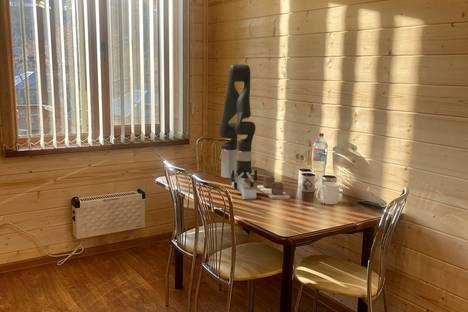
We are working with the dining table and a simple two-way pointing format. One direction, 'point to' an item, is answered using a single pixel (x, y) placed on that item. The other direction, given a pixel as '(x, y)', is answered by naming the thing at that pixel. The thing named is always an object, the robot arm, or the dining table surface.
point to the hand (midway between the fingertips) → (243, 188)
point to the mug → (328, 193)
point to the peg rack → (273, 188)
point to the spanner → (245, 189)
